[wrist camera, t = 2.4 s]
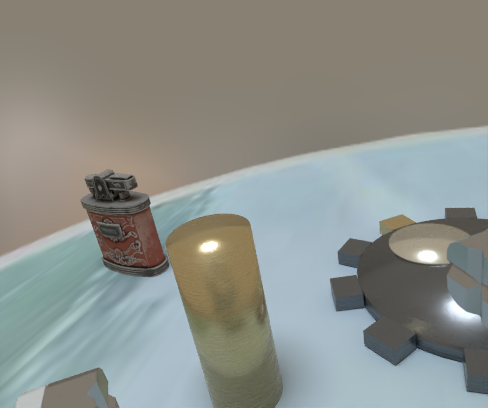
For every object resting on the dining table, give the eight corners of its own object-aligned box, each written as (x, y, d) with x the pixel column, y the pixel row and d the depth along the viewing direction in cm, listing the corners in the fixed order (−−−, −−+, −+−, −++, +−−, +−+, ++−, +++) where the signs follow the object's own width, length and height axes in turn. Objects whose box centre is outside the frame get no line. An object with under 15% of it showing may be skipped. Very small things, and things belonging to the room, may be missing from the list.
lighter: (97, 267, 44) (63, 178, 40) (120, 251, 46) (91, 165, 42) (153, 281, 39) (121, 182, 35) (176, 261, 42) (149, 167, 38)
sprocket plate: (453, 453, 20) (453, 435, 20) (294, 259, 38) (292, 247, 38) (754, 321, 24) (761, 302, 23) (479, 201, 42) (480, 189, 41)
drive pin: (220, 432, 24) (170, 266, 19) (205, 376, 28) (161, 228, 23) (293, 404, 24) (262, 239, 20) (268, 354, 28) (237, 206, 24)
